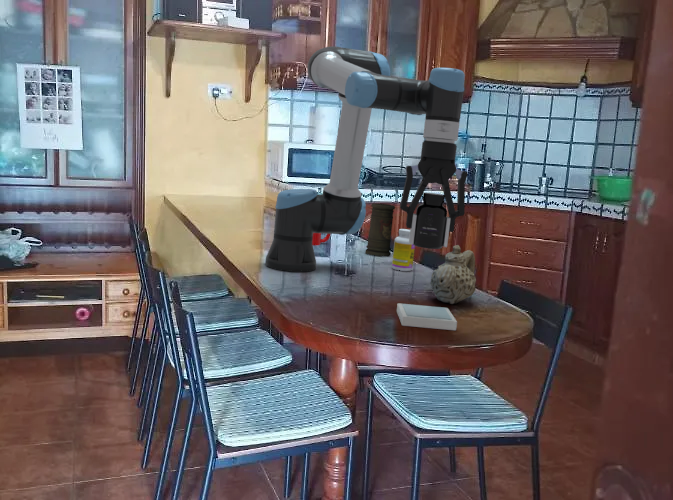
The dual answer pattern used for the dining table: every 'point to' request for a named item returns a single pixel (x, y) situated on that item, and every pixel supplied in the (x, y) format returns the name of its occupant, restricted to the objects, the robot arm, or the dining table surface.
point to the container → (380, 230)
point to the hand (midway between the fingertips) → (427, 244)
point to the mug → (319, 238)
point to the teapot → (455, 277)
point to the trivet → (426, 316)
